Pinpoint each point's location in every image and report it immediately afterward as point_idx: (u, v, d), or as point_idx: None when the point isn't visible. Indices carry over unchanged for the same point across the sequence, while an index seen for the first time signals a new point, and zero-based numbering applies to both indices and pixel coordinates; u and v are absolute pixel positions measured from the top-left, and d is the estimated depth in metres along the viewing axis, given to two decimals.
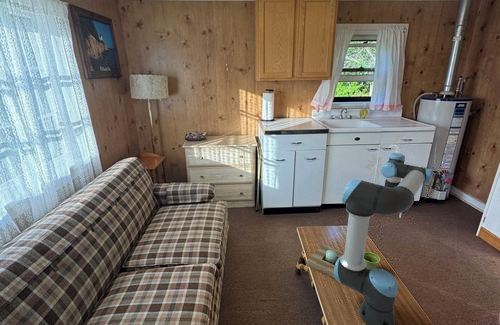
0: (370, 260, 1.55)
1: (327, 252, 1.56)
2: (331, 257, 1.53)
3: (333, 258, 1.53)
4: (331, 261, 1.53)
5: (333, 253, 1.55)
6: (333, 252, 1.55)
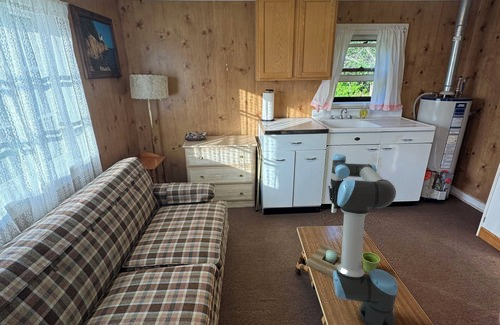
0: (370, 260, 1.55)
1: (327, 252, 1.56)
2: (331, 257, 1.53)
3: (333, 258, 1.53)
4: (331, 261, 1.53)
5: (333, 253, 1.55)
6: (333, 252, 1.55)
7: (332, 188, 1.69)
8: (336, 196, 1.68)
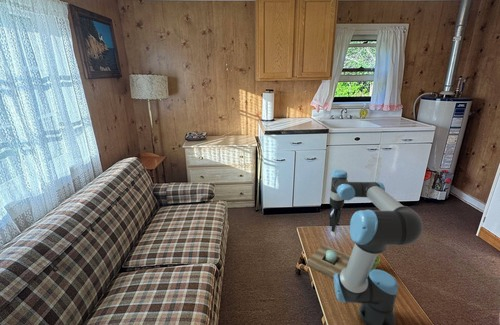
0: None
1: (327, 252, 1.56)
2: (331, 257, 1.53)
3: (333, 258, 1.53)
4: (331, 261, 1.53)
5: (333, 253, 1.55)
6: (333, 252, 1.55)
7: None
8: None
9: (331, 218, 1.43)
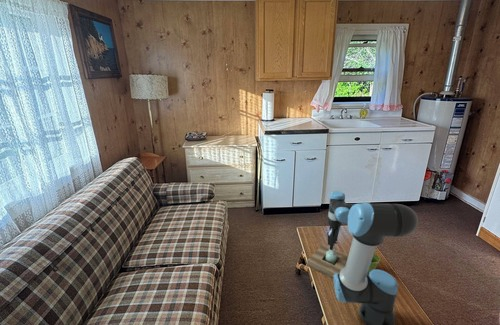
0: None
1: (327, 253, 1.56)
2: (331, 258, 1.53)
3: (333, 259, 1.53)
4: (331, 262, 1.54)
5: (333, 254, 1.55)
6: None
7: None
8: None
9: (329, 237, 1.47)
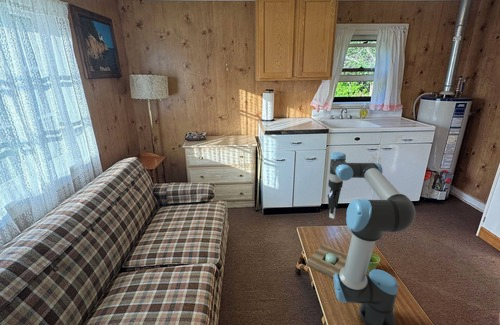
0: (370, 260, 1.55)
1: (327, 255, 1.56)
2: (331, 260, 1.53)
3: (333, 261, 1.54)
4: None
5: (332, 256, 1.55)
6: (333, 255, 1.56)
7: None
8: None
9: (330, 200, 1.46)
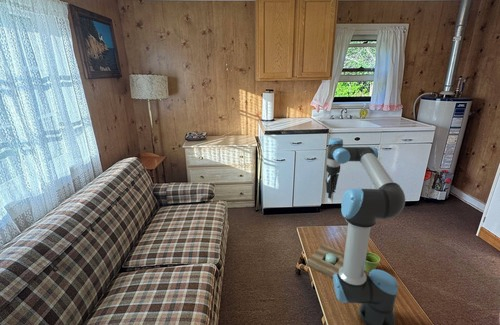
0: (370, 260, 1.55)
1: (327, 255, 1.56)
2: (331, 260, 1.53)
3: (333, 261, 1.54)
4: None
5: (332, 256, 1.55)
6: (333, 255, 1.56)
7: None
8: None
9: (328, 184, 1.51)
